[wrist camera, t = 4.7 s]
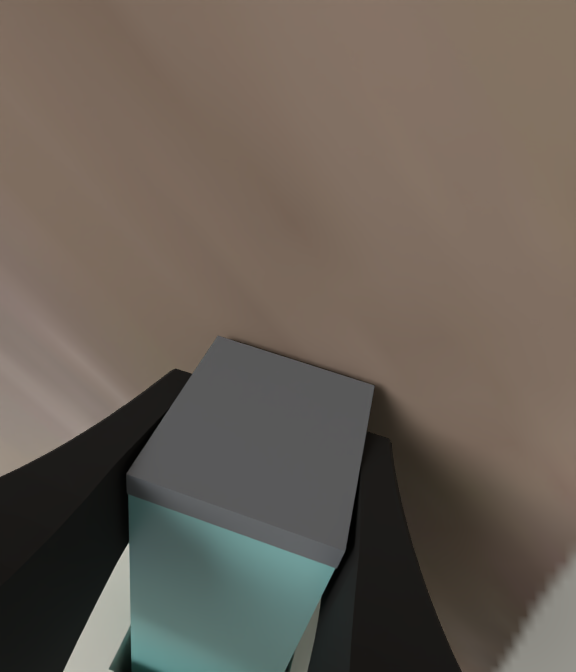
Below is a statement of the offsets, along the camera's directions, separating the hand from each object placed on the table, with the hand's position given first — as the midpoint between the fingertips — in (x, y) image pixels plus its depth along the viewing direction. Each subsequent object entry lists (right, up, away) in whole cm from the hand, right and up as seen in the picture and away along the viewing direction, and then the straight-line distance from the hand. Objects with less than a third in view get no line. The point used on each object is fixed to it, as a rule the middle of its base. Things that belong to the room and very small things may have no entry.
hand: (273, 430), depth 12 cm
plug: (0, -2, +4) cm, 4 cm away
